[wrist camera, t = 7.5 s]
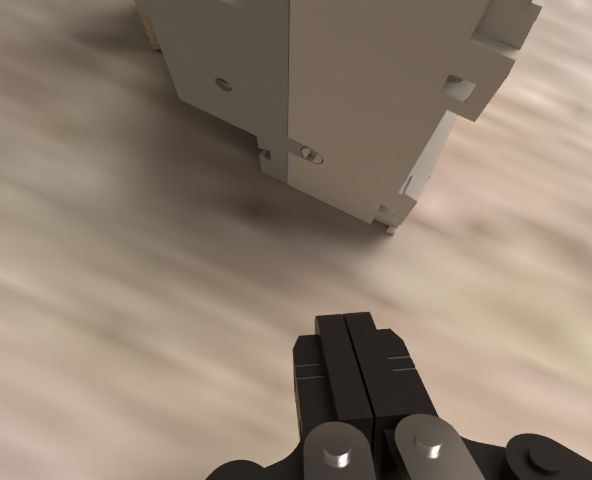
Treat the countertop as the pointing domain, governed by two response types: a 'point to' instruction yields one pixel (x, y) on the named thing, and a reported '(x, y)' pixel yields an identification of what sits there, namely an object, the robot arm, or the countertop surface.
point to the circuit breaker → (344, 84)
